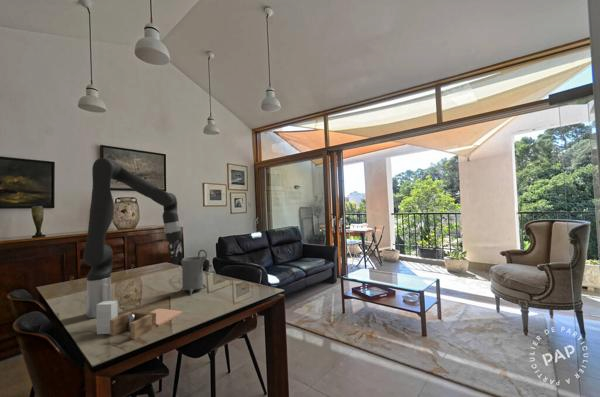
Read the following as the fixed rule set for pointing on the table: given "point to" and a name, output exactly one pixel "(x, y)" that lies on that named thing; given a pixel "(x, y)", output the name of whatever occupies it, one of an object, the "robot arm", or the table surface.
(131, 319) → the post
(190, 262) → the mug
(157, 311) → the tile
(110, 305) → the skincare box
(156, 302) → the table surface
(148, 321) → the c link
